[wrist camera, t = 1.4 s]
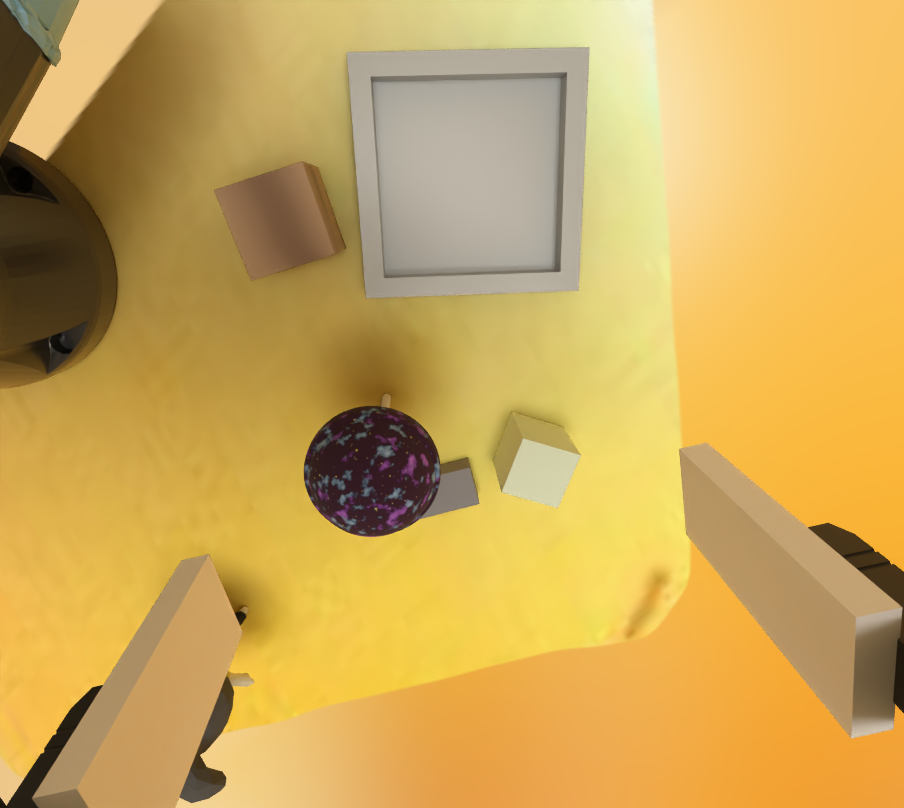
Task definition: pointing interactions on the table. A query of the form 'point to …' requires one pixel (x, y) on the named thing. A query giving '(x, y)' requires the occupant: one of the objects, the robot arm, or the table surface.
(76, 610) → the table surface
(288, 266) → the walnut cube
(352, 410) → the lollipop
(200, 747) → the toy
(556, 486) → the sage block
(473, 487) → the rubber eraser
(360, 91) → the tray
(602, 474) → the table surface
